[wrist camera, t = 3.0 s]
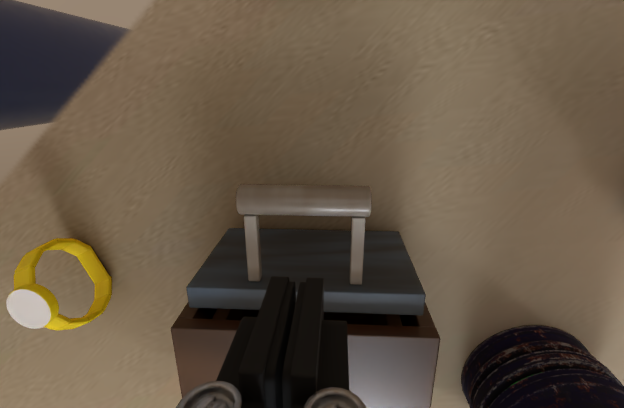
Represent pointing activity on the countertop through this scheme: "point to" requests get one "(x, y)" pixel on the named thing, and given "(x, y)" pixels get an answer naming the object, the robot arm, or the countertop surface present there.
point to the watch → (41, 302)
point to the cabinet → (361, 356)
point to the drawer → (310, 258)
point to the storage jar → (538, 372)
